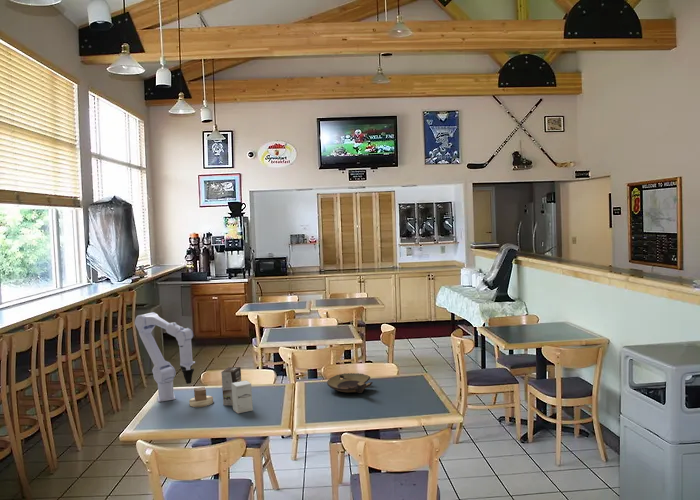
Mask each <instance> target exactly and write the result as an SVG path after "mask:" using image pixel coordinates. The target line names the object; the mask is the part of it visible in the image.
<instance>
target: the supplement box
mask: <svg viewBox="0 0 700 500" xmlns="http://www.w3.org/2000/svg"><path fill="white" fill-rule="evenodd" d="M231 385H232V401H233V405H232V410H233V411H234V412H235V413H236V414H242V413H246V412H253V411H254V409H253V394H252V393H253V391H252V382H250V381H248V380H241V381H240V382H234V383H231Z"/></svg>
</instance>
